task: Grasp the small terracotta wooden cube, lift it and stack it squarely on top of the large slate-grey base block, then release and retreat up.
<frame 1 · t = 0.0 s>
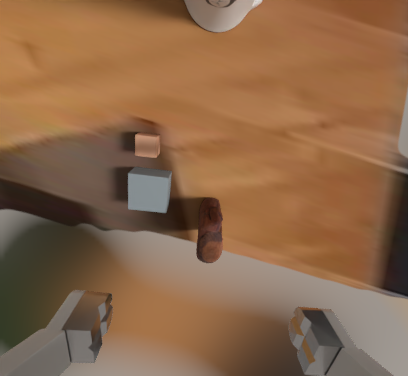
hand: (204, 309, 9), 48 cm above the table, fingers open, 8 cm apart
slate base block: (152, 185, 58), on the table
terracotta cube: (150, 142, 54), on the table
wooden figurine: (208, 213, 62), on the table
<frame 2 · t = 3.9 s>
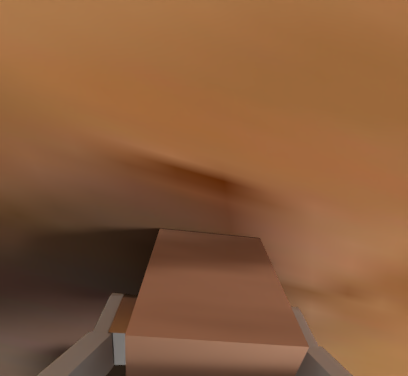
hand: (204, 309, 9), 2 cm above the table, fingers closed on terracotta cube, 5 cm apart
terracotta cube: (204, 272, 11), on the table, touching gripper
when the fingers open (10 cm above the table, at t = 9.3 s): terracotta cube drops 2 cm, point 6 cm above the table.
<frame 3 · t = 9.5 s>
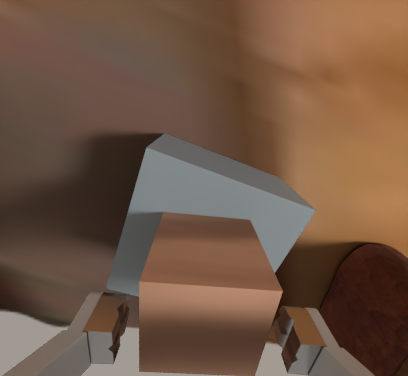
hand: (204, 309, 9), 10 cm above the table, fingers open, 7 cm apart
slate base block: (202, 207, 18), on the table
terracotta cube: (202, 251, 13), point 6 cm above the table
wooden figurine: (352, 282, 22), on the table
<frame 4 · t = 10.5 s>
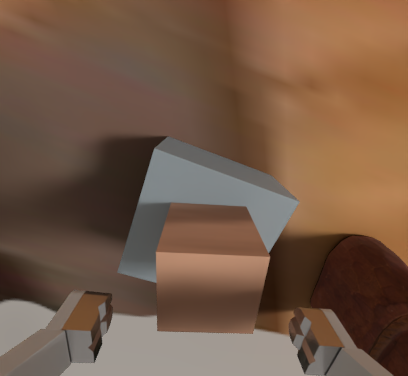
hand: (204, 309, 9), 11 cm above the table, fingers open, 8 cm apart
slate base block: (201, 203, 20), on the table
terracotta cube: (206, 236, 14), point 6 cm above the table
wooden figurine: (340, 272, 24), on the table
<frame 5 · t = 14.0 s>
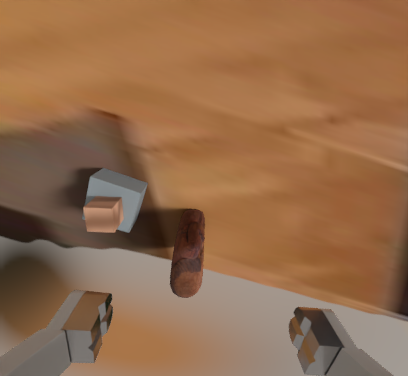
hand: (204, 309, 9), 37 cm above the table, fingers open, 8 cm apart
slate base block: (121, 194, 47), on the table, touching terracotta cube
terracotta cube: (110, 207, 42), point 6 cm above the table, touching slate base block
wooden figurine: (191, 227, 51), on the table
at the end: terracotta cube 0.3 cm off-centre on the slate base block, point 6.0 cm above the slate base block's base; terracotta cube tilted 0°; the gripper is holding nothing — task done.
